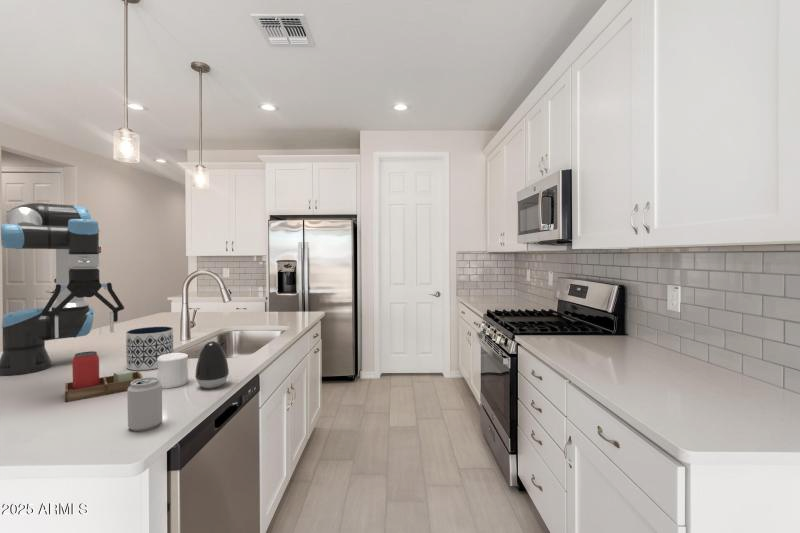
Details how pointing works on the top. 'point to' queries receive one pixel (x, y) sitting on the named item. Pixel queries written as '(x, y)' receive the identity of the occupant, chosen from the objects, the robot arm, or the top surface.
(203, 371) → the egg shaped speaker
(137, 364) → the planter
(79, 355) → the beer can
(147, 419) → the can
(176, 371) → the cup
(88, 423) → the top surface
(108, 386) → the tray
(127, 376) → the sage block
